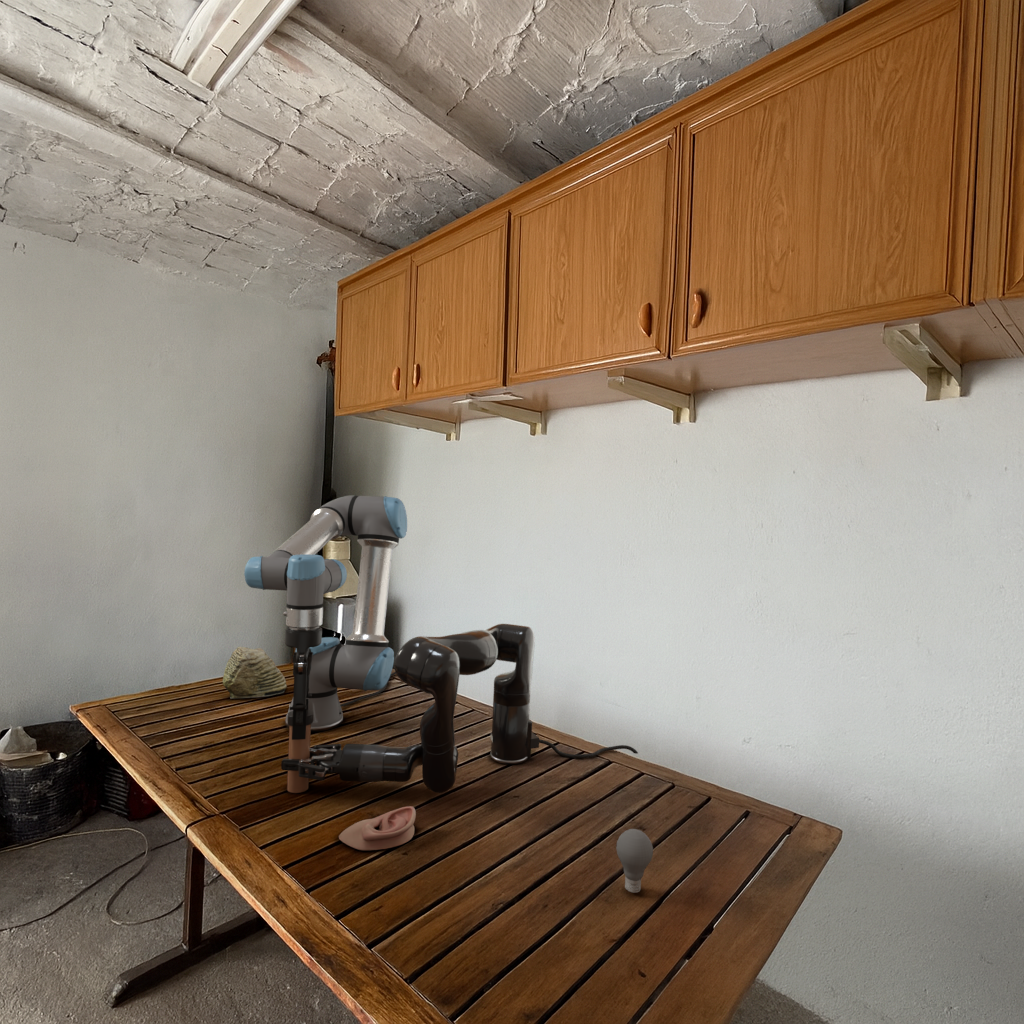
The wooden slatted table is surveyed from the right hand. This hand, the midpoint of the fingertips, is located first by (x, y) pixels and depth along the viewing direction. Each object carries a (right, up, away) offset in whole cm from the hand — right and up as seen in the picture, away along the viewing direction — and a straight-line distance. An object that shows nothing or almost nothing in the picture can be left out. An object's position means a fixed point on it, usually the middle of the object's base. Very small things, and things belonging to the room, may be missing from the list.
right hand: (286, 759), depth 137 cm
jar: (+2, -6, 0) cm, 7 cm away
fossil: (-32, -4, +61) cm, 69 cm away
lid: (+3, +10, 0) cm, 10 cm away
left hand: (+3, +6, 0) cm, 6 cm away
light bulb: (+69, -10, -31) cm, 76 cm away
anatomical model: (+23, -8, -18) cm, 30 cm away
